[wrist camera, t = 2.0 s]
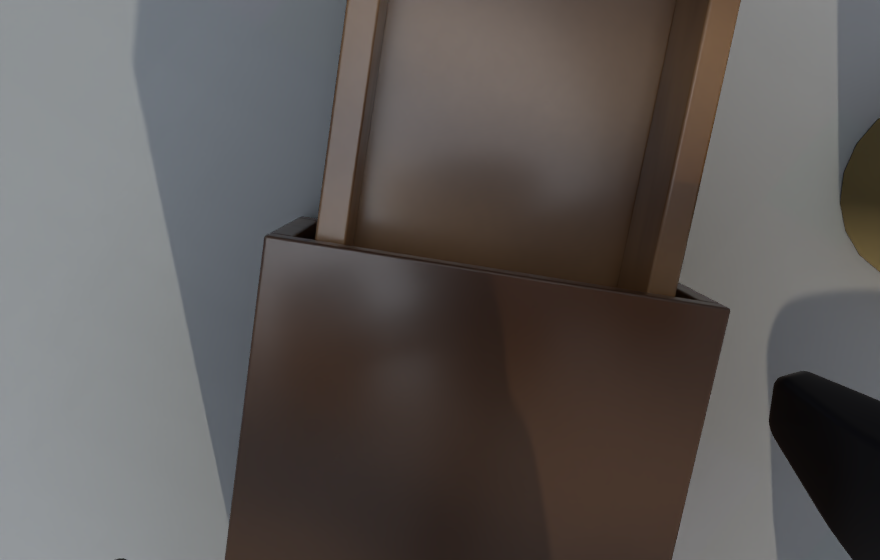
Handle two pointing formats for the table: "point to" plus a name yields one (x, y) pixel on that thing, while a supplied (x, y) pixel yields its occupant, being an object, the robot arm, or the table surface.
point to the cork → (864, 196)
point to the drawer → (526, 133)
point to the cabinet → (463, 410)
